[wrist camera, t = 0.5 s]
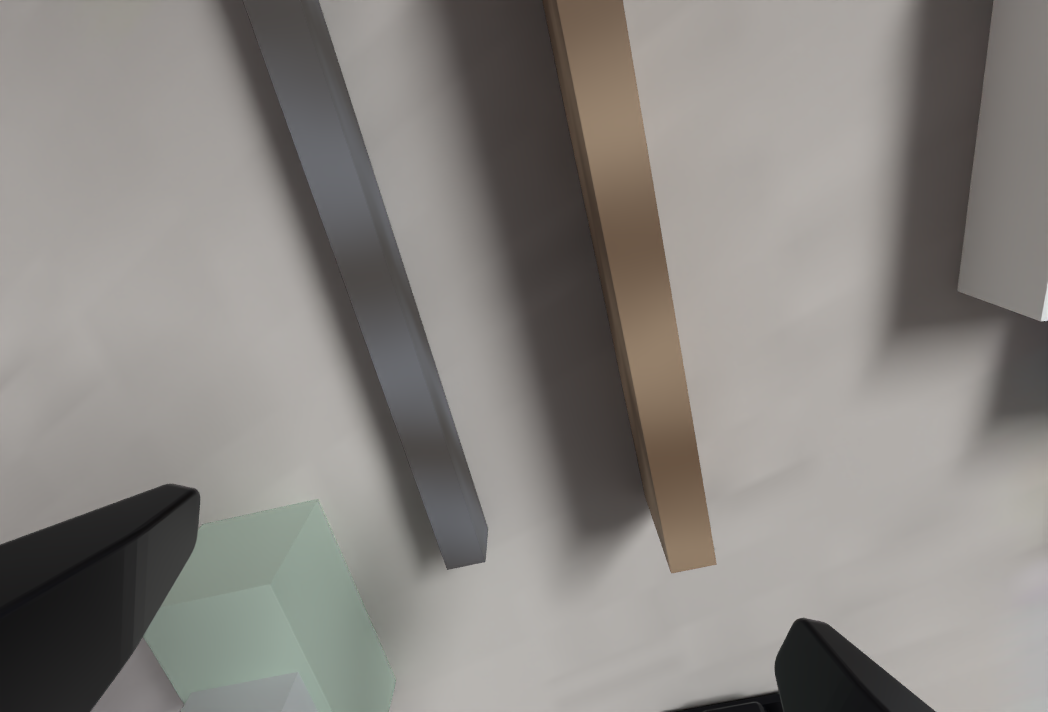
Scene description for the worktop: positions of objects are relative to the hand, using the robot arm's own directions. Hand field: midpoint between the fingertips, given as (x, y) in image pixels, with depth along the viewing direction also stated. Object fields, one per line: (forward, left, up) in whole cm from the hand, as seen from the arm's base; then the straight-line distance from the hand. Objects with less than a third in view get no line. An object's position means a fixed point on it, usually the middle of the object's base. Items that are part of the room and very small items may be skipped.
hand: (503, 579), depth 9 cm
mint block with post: (-10, +12, -14) cm, 21 cm away
